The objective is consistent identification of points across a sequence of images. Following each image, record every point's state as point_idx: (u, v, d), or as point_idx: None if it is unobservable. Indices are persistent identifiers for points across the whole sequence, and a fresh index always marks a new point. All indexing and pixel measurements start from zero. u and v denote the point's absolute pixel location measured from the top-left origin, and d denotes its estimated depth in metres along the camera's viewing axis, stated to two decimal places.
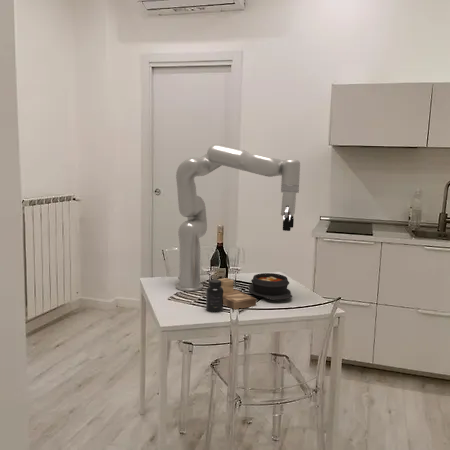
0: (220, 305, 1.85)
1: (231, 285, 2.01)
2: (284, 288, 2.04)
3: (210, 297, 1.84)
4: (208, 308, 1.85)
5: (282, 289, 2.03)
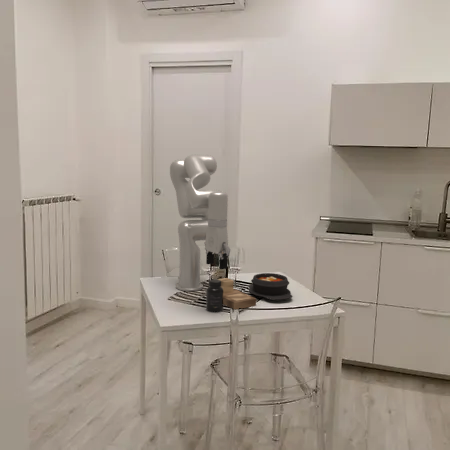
0: (220, 305, 1.85)
1: (231, 285, 2.01)
2: (284, 288, 2.04)
3: (210, 297, 1.84)
4: (208, 308, 1.85)
5: (282, 289, 2.03)
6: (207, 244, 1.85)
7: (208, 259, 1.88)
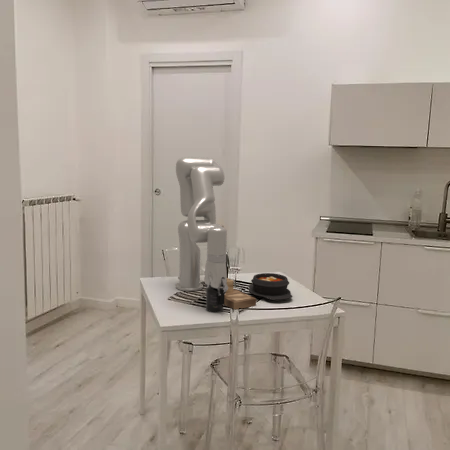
0: (220, 305, 1.85)
1: (231, 285, 2.01)
2: (284, 288, 2.04)
3: (210, 297, 1.84)
4: (208, 308, 1.85)
5: (282, 289, 2.03)
6: (206, 278, 1.87)
7: None
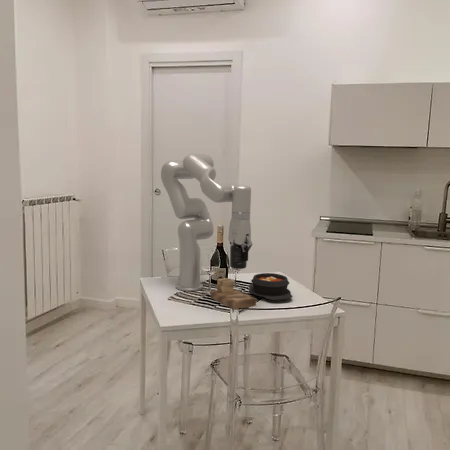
0: (244, 262, 1.90)
1: (231, 285, 2.01)
2: (284, 288, 2.04)
3: (234, 254, 1.89)
4: (232, 265, 1.90)
5: (282, 289, 2.03)
6: (230, 236, 1.92)
7: None
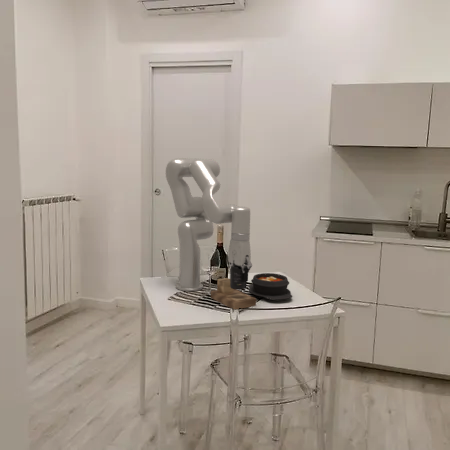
0: (244, 282, 1.91)
1: None
2: (284, 288, 2.04)
3: (234, 274, 1.90)
4: (232, 286, 1.91)
5: (282, 289, 2.03)
6: (230, 257, 1.93)
7: None
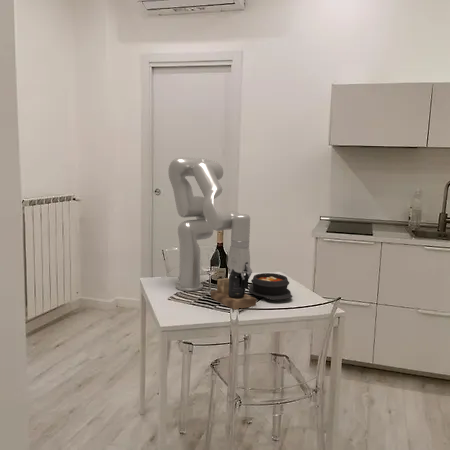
0: (242, 292, 1.92)
1: None
2: (284, 288, 2.04)
3: (233, 284, 1.91)
4: (230, 294, 1.93)
5: (282, 289, 2.03)
6: (230, 263, 1.93)
7: None
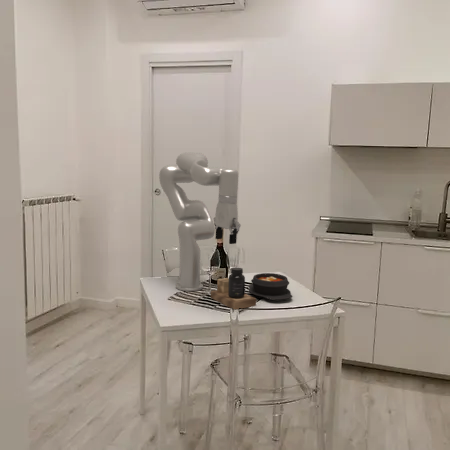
0: (242, 291, 1.92)
1: None
2: (284, 288, 2.04)
3: (232, 284, 1.91)
4: (230, 295, 1.93)
5: (282, 289, 2.03)
6: (217, 220, 1.91)
7: (217, 234, 1.95)
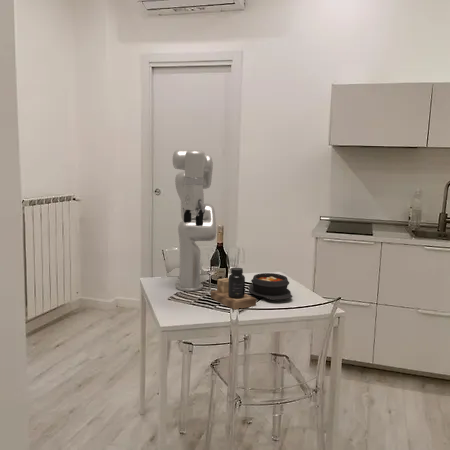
0: (242, 291, 1.92)
1: None
2: (284, 288, 2.04)
3: (232, 284, 1.91)
4: (230, 295, 1.93)
5: (282, 289, 2.03)
6: (184, 202, 1.90)
7: (185, 217, 1.93)
